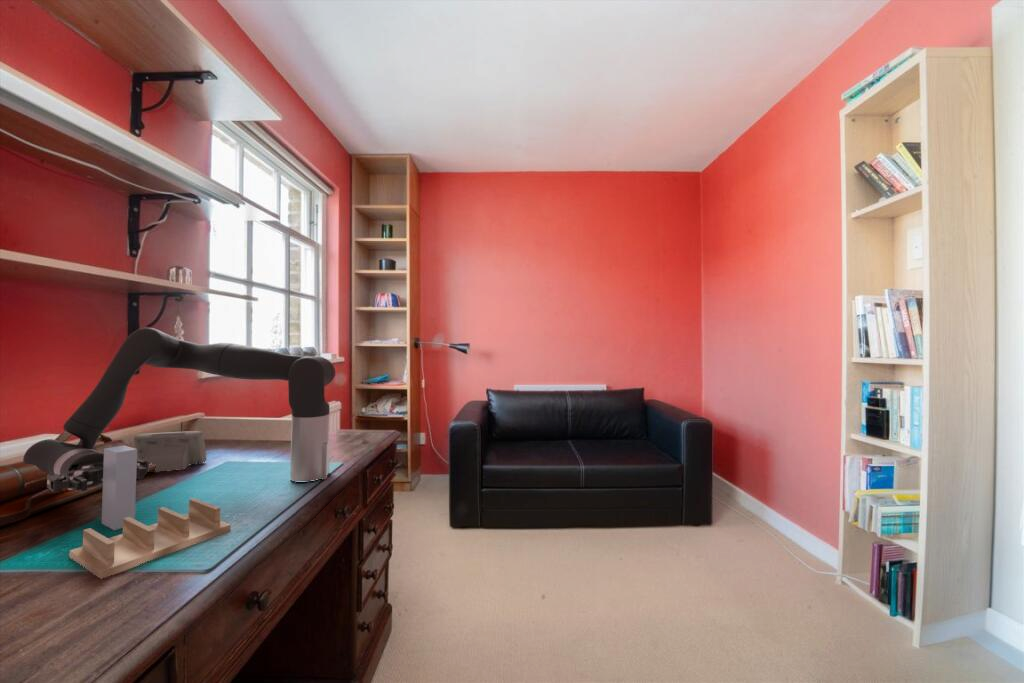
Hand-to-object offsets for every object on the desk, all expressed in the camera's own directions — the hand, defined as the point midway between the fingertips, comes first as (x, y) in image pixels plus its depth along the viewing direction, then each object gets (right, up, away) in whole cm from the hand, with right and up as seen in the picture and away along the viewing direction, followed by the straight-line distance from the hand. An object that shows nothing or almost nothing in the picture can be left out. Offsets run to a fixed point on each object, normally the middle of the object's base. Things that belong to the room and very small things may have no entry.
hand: (114, 479), depth 79 cm
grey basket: (-19, -9, +34) cm, 40 cm away
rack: (+16, -9, -9) cm, 20 cm away
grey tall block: (+2, -8, -1) cm, 9 cm away
